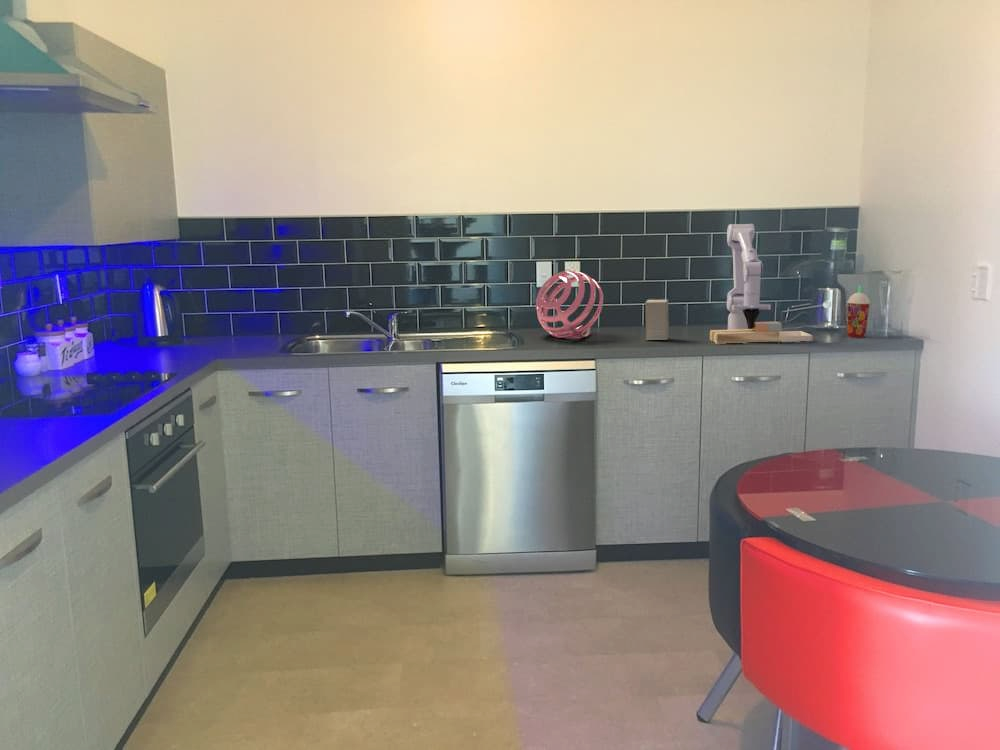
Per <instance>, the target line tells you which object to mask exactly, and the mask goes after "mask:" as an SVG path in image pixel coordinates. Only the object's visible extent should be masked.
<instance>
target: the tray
mask: <svg viewBox="0 0 1000 750" xmlns="http://www.w3.org/2000/svg"><path fill="white" fill-rule="evenodd" d="M779 332H780V333H779V341H781V342H795V343H801V342H800V341H807V342H806V343H810V342H809V341H813V342H814V335H813V334H810V333H807V332H805V331H802V330H791V331H790V330H787V331H779Z"/></svg>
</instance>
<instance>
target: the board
mask: <svg viewBox="0 0 1000 750" xmlns="http://www.w3.org/2000/svg"><path fill="white" fill-rule="evenodd" d="M780 332H781V331H770V332H755V331H753V330H751V329H733V330H728V329H709V341H710V340H711V342H712V341H713V342H712V343H714V342H715V343H714V344H716V345H727V344H726V343H743V344H748V343H747V342H768V341H779V333H780Z"/></svg>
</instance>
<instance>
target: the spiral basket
mask: <svg viewBox="0 0 1000 750" xmlns="http://www.w3.org/2000/svg"><path fill="white" fill-rule="evenodd" d="M569 276H573V277H570V278H569ZM560 280H561V281H562V282H561V283H560V284H558V285H557V286H556V287H555V288H554V289H553V290H552V291H551V293H550V294H549V296H548V294H547V292H549V290H550V289H551V287H552V286H554V285H555V284H556V283H557V282H558V281H560ZM585 281H588V283H589V285H590V286H589V287H590V295H589V300H588V302H587V304H586V306H585V307H584V310H583V311H582V313H580V314H579V316H577V318H576V319H574V320H572V321H569V320H568V319H569V317H570V316H571V315H573V314H574V312H575V311H576V310H577V309H578V307H579V306H580V305H581V303H582V301H583V299H584V297H585V290H586V288H585V287H586V285H585ZM575 282H577V284H578V288H577V289H578V290H577V294H576V296H575V299H574V301H573V302H572V303H571V305H570V306H569V307H567V309H566V310H562V309H561V305H562V304H564V303H565V302H566V301H567V299H568V297H569V296H570V294H571V291H572V283H575ZM596 287H597V288H596ZM597 289H598V291H599V292H598V293H599V302H598V305H597V307H596V311H595V313H594V314H593V316H592V317H591V318H590V320H589V321H588V322H587V323H586V324H585V325H580V324H581V323H582V322H583V321H584V320H585V319H586V318H587V317H588V315H589V314H590V312H591V311H592V309H593V307H594V305H595V301H596V297H597ZM562 290H563V292H562V293H561V296H560V297H558V298H556V295H558V294H559V292H560V291H562ZM603 304H604V293H603V291H602V288H601V286H600V284H599V283H598V281H596V280H595V279H594V278H592V277H590V276H589V275H588V274H587V273H584V272H581V271H576V270H574V271H573V270H572V271H571V270H565V271H564V270H563V271H559V272H558V273H555V274H554V275H552V276H550V277H549V278H548V279H546V280H545V282H544V283H543V285H541V287H540V288H539V291H538V292H537V296H536V298H535V310H536V314H537V315H536V316H537V320H538V321H539V323H540V325H541V327H542V328H543V329H544V330H545V331H546V332H547V333H548V334H550V335H551V336H552V337H554V338H557V339H560V338H565V339H564V340H566V339H573V338H577V339H578V338H579V339H585V338H587V337H588V336H589V334H591V333H590V332H591V331H590V330H591V328H592V326H593V325H594V323H595V322H596V321H597V319H599V318H598V317H599V316H600V313H601V312H602V309H603ZM553 309H555V310H556V312H557V314H556V315H548V313H549V312H548V311H549V310H553ZM556 322H557V323H558V322H562V324H563V325H562V326H560V327H550V326H548V323H556ZM577 326H578V327H577ZM585 332H586V333H585ZM584 333H585V334H584ZM584 337H585V338H584Z"/></svg>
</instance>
